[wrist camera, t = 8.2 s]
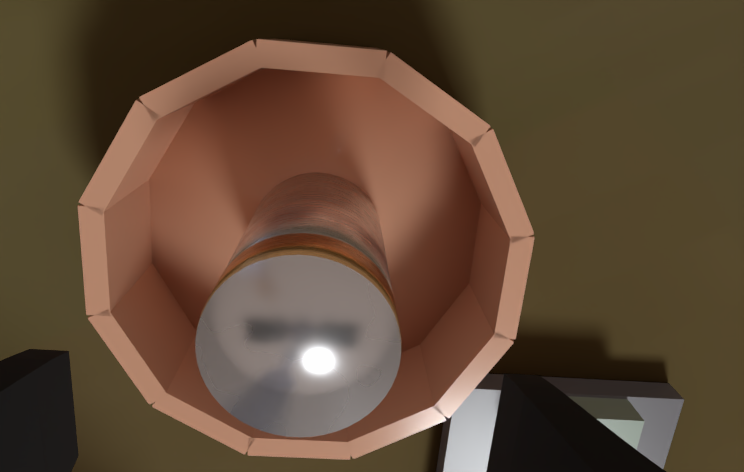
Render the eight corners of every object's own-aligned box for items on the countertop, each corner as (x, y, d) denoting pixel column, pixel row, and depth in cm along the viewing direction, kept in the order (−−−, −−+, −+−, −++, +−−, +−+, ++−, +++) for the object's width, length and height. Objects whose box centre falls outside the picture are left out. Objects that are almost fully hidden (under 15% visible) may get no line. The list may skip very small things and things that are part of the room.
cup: (144, 370, 20) (97, 449, 16) (128, 25, 16) (63, 21, 13) (465, 387, 21) (492, 465, 17) (517, 60, 17) (566, 66, 13)
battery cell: (253, 294, 18) (200, 438, 12) (249, 170, 17) (187, 253, 11) (380, 295, 19) (396, 437, 12) (384, 173, 17) (407, 257, 11)
